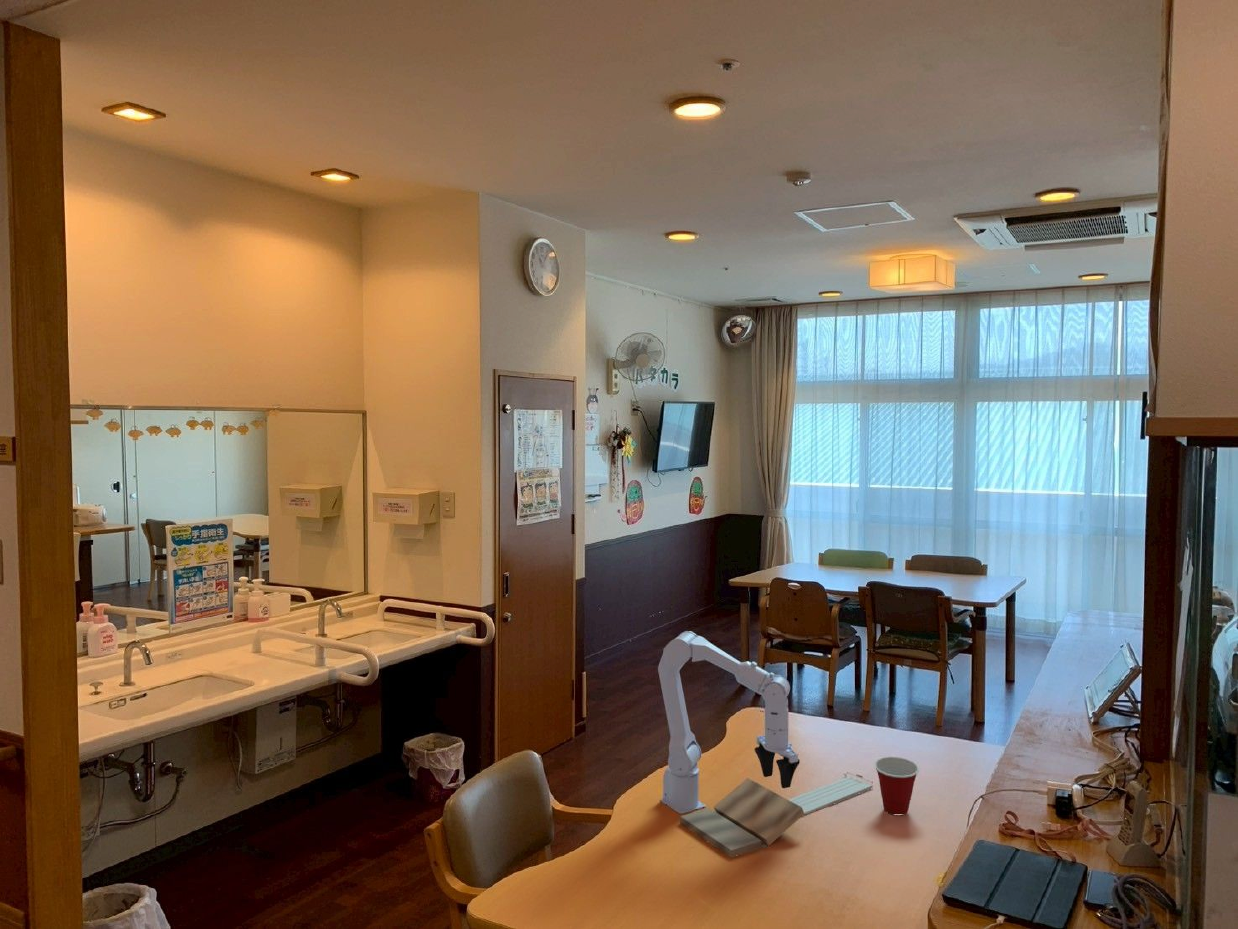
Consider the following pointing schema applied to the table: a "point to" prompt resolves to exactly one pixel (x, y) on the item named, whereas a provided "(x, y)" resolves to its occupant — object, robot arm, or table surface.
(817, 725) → the table surface
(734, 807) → the plank
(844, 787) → the baseboard
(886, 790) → the plastic cup
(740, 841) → the floor panel
